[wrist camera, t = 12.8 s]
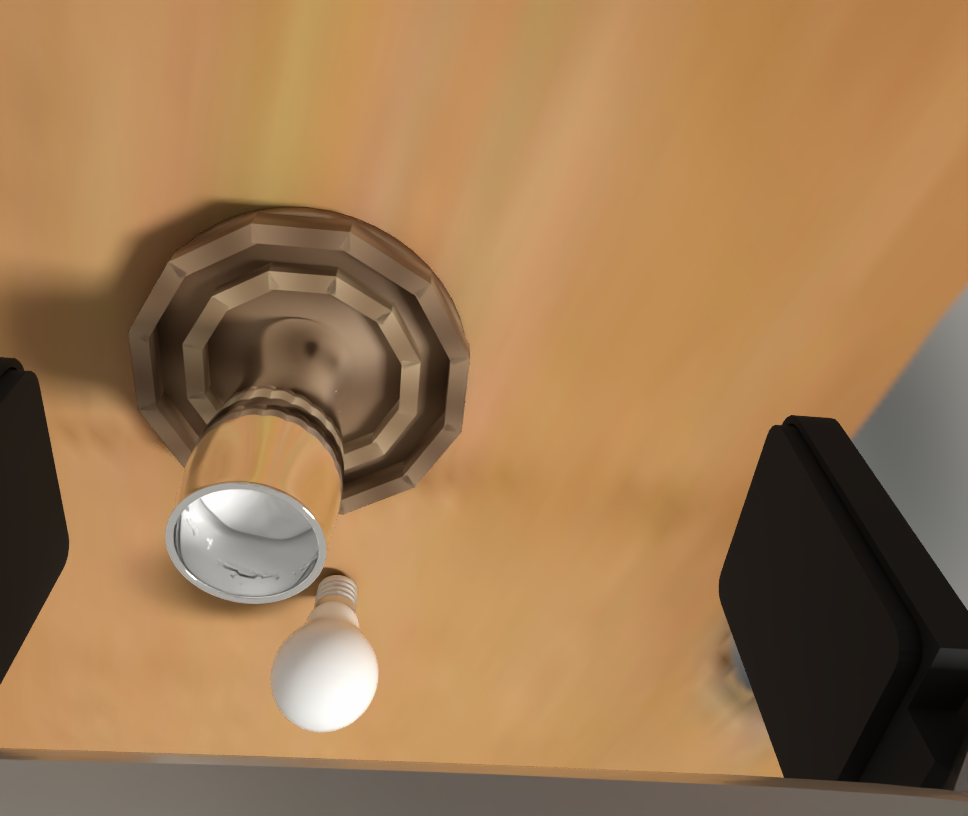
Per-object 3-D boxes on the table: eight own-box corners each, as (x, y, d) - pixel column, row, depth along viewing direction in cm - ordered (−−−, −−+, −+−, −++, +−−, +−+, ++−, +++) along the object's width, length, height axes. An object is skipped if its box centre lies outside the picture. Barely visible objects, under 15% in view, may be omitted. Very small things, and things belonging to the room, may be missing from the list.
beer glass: (278, 435, 51) (221, 627, 38) (210, 339, 47) (123, 516, 35) (384, 391, 49) (361, 576, 37) (323, 289, 46) (274, 455, 33)
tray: (127, 191, 44) (110, 209, 42) (482, 223, 45) (484, 241, 43) (160, 477, 53) (147, 503, 51) (453, 495, 55) (453, 522, 53)
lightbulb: (399, 604, 60) (390, 742, 50) (313, 625, 61) (288, 764, 51) (366, 537, 56) (350, 671, 47) (275, 560, 57) (242, 696, 48)
